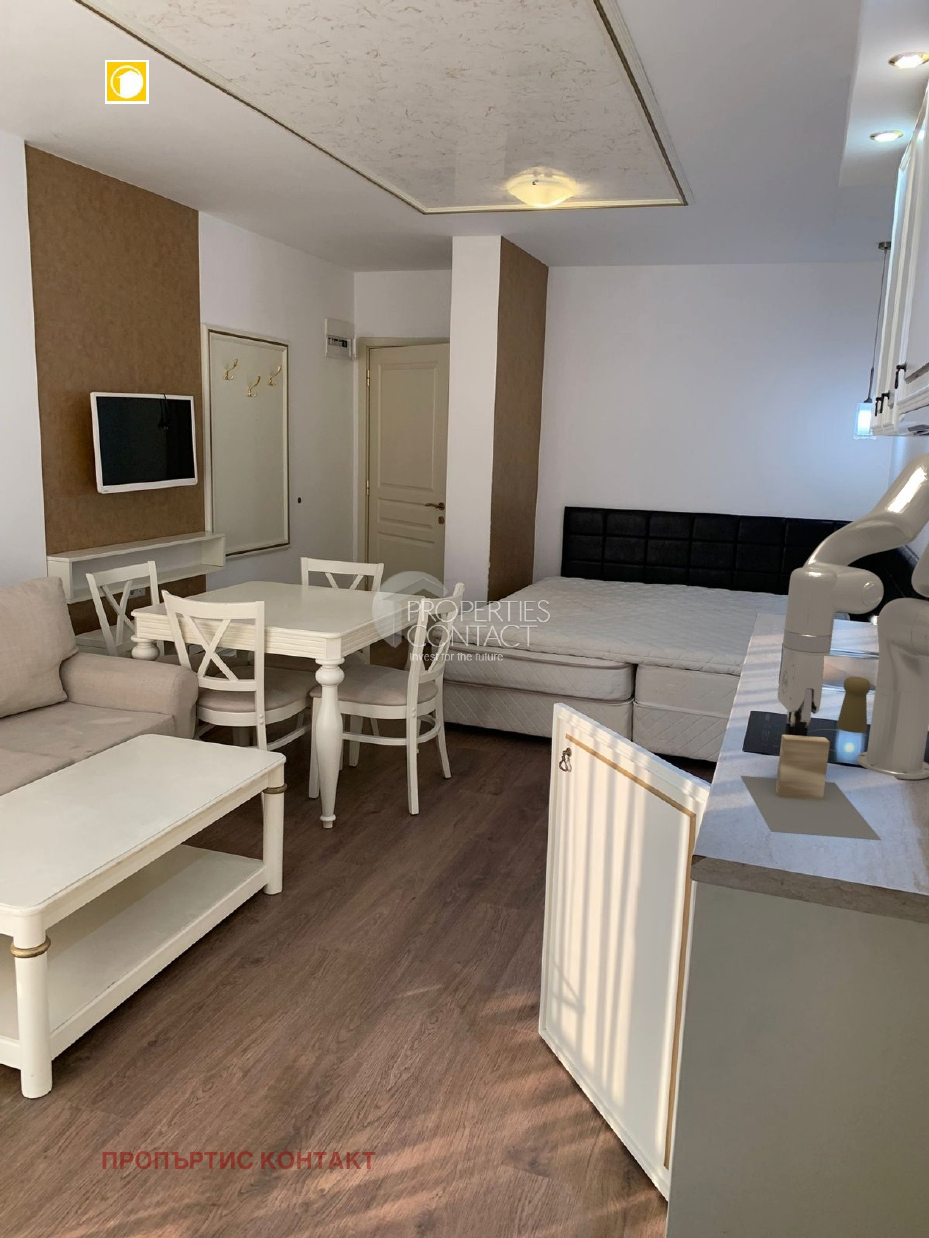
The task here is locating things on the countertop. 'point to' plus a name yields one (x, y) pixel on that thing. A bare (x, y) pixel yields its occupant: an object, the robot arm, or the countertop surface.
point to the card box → (802, 767)
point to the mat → (808, 811)
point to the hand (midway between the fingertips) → (794, 747)
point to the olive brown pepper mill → (854, 705)
